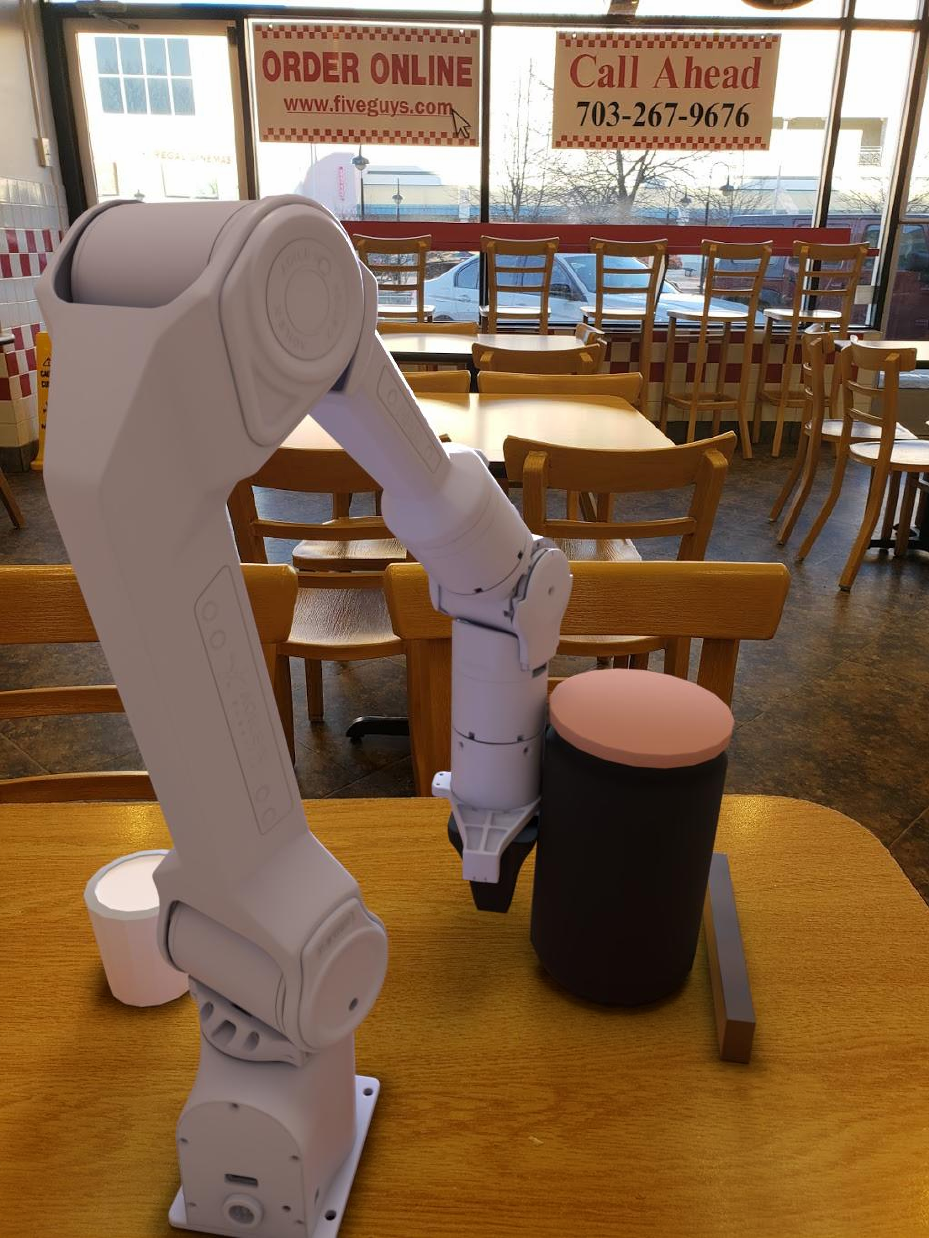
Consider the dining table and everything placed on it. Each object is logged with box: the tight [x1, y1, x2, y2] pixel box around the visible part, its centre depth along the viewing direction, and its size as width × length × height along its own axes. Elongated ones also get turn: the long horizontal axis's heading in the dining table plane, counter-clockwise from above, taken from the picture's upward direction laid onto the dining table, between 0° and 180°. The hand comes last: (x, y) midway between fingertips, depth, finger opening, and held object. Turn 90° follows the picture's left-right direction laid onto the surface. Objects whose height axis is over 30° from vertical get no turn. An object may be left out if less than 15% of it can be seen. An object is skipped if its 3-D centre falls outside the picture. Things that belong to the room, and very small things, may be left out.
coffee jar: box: [529, 668, 736, 1008], centre depth 58 cm, size 11×11×18 cm
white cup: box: [83, 848, 190, 1008], centre depth 58 cm, size 7×7×7 cm
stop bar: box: [702, 851, 757, 1064], centre depth 60 cm, size 16×2×3 cm, turn 171°
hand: (493, 905), depth 62 cm, fingers closed
